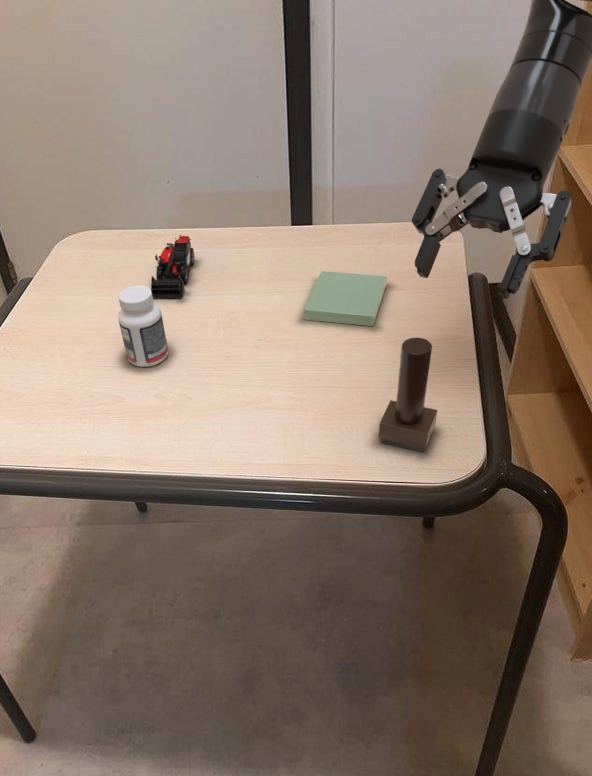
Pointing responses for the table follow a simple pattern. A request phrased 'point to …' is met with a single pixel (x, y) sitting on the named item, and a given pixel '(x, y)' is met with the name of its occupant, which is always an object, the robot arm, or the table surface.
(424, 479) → the table surface
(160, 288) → the loader
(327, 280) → the tile
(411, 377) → the brown peg on base
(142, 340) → the pill bottle
